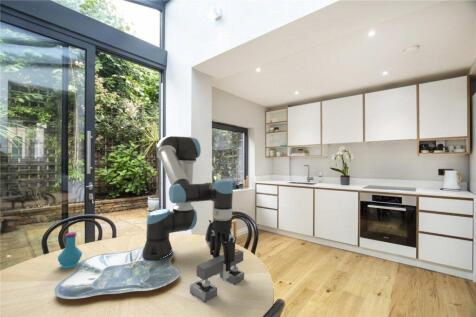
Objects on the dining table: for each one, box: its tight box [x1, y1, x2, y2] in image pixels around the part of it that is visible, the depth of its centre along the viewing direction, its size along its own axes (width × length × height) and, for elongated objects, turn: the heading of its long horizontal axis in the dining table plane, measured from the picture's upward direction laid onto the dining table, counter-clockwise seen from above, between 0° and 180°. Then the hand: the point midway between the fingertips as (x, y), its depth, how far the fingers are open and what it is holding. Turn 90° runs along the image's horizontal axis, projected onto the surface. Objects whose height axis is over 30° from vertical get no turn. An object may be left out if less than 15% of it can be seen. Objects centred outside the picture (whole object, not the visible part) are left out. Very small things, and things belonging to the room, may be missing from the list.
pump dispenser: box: [205, 219, 214, 247], centre depth 134 cm, size 10×10×15 cm
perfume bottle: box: [57, 231, 83, 269], centre depth 105 cm, size 9×9×15 cm
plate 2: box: [219, 267, 245, 286], centre depth 96 cm, size 9×6×3 cm, turn 48°
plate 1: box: [189, 278, 218, 304], centre depth 84 cm, size 9×6×3 cm, turn 48°
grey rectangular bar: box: [196, 248, 244, 287], centre depth 89 cm, size 4×22×8 cm, turn 138°
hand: (221, 276), depth 89 cm, fingers closed on grey rectangular bar, 4 cm apart
